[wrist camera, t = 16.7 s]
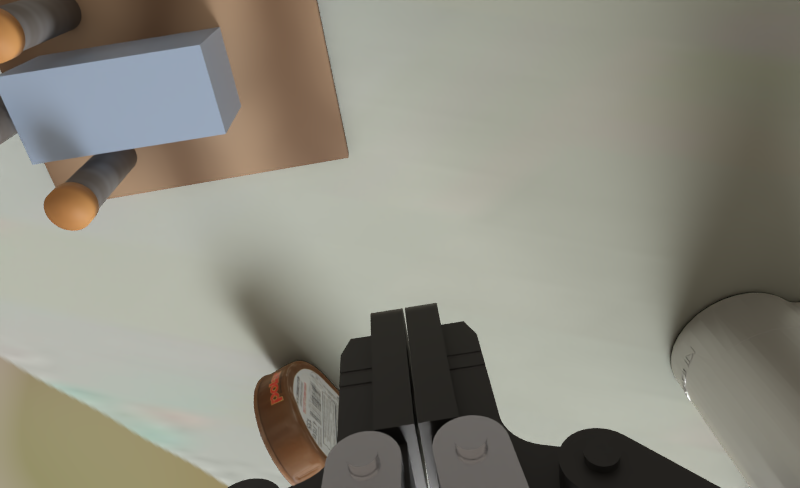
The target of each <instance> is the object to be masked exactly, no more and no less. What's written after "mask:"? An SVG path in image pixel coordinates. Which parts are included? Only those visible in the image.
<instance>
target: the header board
mask: <svg viewBox="0 0 800 488" xmlns="http://www.w3.org/2000/svg"><path fill="white" fill-rule="evenodd" d="M216 27H220V30H221V33H222V37H223V41H224V45H225V48H226V52H227V56H228V59H229V63H230V67H231V70H232V74H233V78H234V81H235V85H236V89H237V92H238V96H239V100H240V103H241V108H240V109H239V111H238V113H237V115H236V117H235V118H234V120H233V122H232V124H231V126H230V127H229V129H228V131H227V133H226V134H222V135H216V136H210V137H203V138H197V139H191V140H184V141H178V142H172V143H166V144H159V145H153V146H147V147H140V148H134V149H128V150H121V151H115V152H109V153H102V154H96V155H90V156H83V157H77V158H71V159H65V160H58V161H52V162H46V163H44V164H45V166H46V168H47V170H48V172H49V174H50V176H51V178H52V181H53V183H54V185H55V187H56V188H55V189H54V190H53V191H52V192H51V193H50V194H49V195H48V196H47V197H46V199H45V201H44V210H45V213H46V215H47V217H48V218H49V219H50V220H51V222H53V223H54V224H55V225H57V226H58V227H60V228H63V229H66V230H80V229H83V228H85V227H86V226H88V224H89V223H90V222H91V221H92V220H93V219H94V217H95V216H96V215H97V213H98V210H99V208H100V207H101V205H102V204H103V203H104V202H105V201H106V199H110V198H116V197H122V196H128V195H133V194H139V193H145V192H151V191H157V190H162V189H168V188H174V187H180V186H186V185H192V184H197V183H203V182H209V181H215V180H221V179H226V178H232V177H238V176H244V175H250V174H255V173H261V172H267V171H273V170H279V169H285V168H290V167H296V166H302V165H308V164H314V163H319V162H325V161H331V160H337V159H343V158H348V156H349V152H348V147H347V143H346V138H345V133H344V128H343V123H342V119H341V114H340V109H339V104H338V99H337V94H336V90H335V85H334V80H333V75H332V70H331V65H330V61H329V56H328V51H327V46H326V41H325V37H324V32H323V27H322V22H321V17H320V12H319V8H318V3H317V0H0V70H1V72H2V73H4V72H6V71H8V70H10V69H12V68H14V67H16V66H18V65H21V64H23V63H25V62H27V61H29V60H31V59H33V58H35V57H38V56H41V55H47V54H53V53H59V52H66V51H72V50H78V49H84V48H91V47H97V46H103V45H110V44H116V43H122V42H128V41H135V40H141V39H147V38H153V37H160V36H166V35H172V34H178V33H185V32H191V31H197V30H204V29H210V28H216ZM16 133H18V132H17V130H16V128H15V126H14V124H13V121H12V119H11V117H10V115H9V113H8V111H7V109H6V106H5V104H4V102H3V100H2V98H1V96H0V144H2V143H3V142H5V141H6V140H8V139H9V138H11V137H12V136H13V135H15V134H16Z"/></svg>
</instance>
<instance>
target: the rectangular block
mask: <svg viewBox="0 0 800 488" xmlns="http://www.w3.org/2000/svg"><path fill="white" fill-rule="evenodd" d="M0 96H1V98H2V100H3V102H4V104H5V106H6V109H7V111H8V113H9V115H10V117H11V119H12V121H13V124H14V126H15V128H16V130H17V132H18V134H19V137H20V139H21V141H22V143H23V145H24V147H25V149H26V152H27V154H28V156H29V158H30V160H31V162H32V165H33V164H39V163H46V162H52V161H58V160H65V159H71V158H77V157H83V156H90V155H96V154H102V153H109V152H115V151H121V150H128V149H134V148H140V147H147V146H153V145H159V144H166V143H172V142H178V141H184V140H191V139H197V138H203V137H210V136H216V135H222V134H226V133H227V131H228V129H229V127H230V126H231V124H232V122H233V120H234V118H235V117H236V115H237V113H238V111H239V109H240V108H241V103H240V100H239V96H238V92H237V89H236V85H235V81H234V78H233V74H232V70H231V67H230V63H229V59H228V56H227V52H226V48H225V45H224V41H223V37H222V33H221V30H220V27H216V28H210V29H204V30H197V31H191V32H185V33H178V34H172V35H166V36H160V37H153V38H147V39H141V40H135V41H128V42H122V43H116V44H110V45H103V46H97V47H91V48H84V49H78V50H72V51H66V52H59V53H53V54H47V55H41V56H38V57H35V58H33V59H31V60H29V61H27V62H25V63H23V64H21V65H18V66H16V67H14V68H12V69H10V70H8V71H6V72H4V73H2V74H0Z"/></svg>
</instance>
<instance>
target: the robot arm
mask: <svg viewBox="0 0 800 488" xmlns="http://www.w3.org/2000/svg"><path fill="white" fill-rule="evenodd" d="M405 313H406V322H407V330H408V335H407V330H406V324H405V318H404V313H403V309H396V310H389V311H383V312H377V313H371V336H368V337H362V338H355V339H351V340H350V341H349V343H348V345H347V346H346V348H345V350H344V351H343V353H342V354H341V363H340V386H339V387H340V390H339V408H338V431H337V444H336V445H335V446H334V447H333V448H332V450H331V451H330V452H329V454H328V456H327V458H326V462H325V466H324V468H323V469H321V470H320V471H319V472H318V473H317V474H315V475H314V476H312V477H310V478H309V479H307V480H305V481H303V482H300V483H298V484H296V485H293V486H291V487H289V488H428V483H427V474H428V480H429V485H430V488H720V487H718V486H717V485H715V484H713V483H711V482H709V481H707V480H706V479H704V478H702V477H700V476H698V475H696V474H695V473H693V472H691V471H689V470H687V469H685V468H684V467H682V466H680V465H678V464H676V463H674V462H672V461H671V460H669V459H667V458H665V457H663V456H661V455H660V454H658V453H656V452H654V451H652V450H650V449H649V448H647V447H645V446H643V445H641V444H639V443H638V442H636V441H634V440H632V439H630V438H628V437H627V436H625V435H623V434H620V433H618V432H615V431H612V430H608V429H601V428H591V429H585V430H581V431H578V432H576V433H574V434H572V435H570V436H569V437H568V438H567V439H566V440H565V441H564V442H563V443H562V445H561V447H557V446H548V445H540V444H535V443H531V442H527V441H525V440H523V439H520V438H518V437H517V436H515V435H513V434H512V433H511V432H510V431H509V430H508V429H507V428H506V427H505V426H504V424H503V423H502V421H501V419H500V416H499V413H498V409H497V406H496V402H495V398H494V395H493V391H492V388H491V384H490V380H489V377H488V373H487V370H486V367H485V362H484V359H483V355H482V352H481V348H480V344H479V341H478V337H477V334H476V333H475V332H474V331H473V330H472V329H471V328H470V327H469V326H468V325H467V324H466V323H465V322H464V321H463V322H456V323H450V324H444V325H441V323H440V318H439V313H438V308H437V303H433V304H427V305H420V306H414V307H408V308H405ZM408 339H409V341H408ZM671 368H672V371H673V374H674V376H675V378H676V380H677V381H678V383H679V384H680V385H681V387H682V388H683V390H684V392H685V394H686V396H687V397H688V398H689V400H691V402H692V403H693V404H694V406H695V407H696V409H697V410H698V412H699V413H700V415H701V416H702V418H703V419H704V421H705V422H706V424H707V425H708V427H709V428H710V429H711V431H712V432H713V434H714V435H715V437H716V438H717V440H718V441H719V442H720V444H721V445H722V447H723V448H724V450H725V451H726V453H727V454H728V455H729V457H730V458H731V460H732V461H733V463H734V464H735V466H736V467H737V469H738V470H739V471H740V473H741V474H742V476H743V477H744V479H745V480H746V482H747V483H748V484H749V486H750V487H751V488H800V302H795V303H791V302H789V301H786V300H784V299H782V298H780V297H778V296H776V295H771V294H767V293H746V294H740V295H735V296H732V297H729V298H726V299H723V300H721V301H719V302H717V303H715V304H713V305H711V306H709V307H708V308H706V309H705V310H703V311H702V312H700V313H699V314H698V315H696V316H695V317H694V318H693V319H692V320H691V321H690V322H689V323H688V324H687V325H686V326H685V328H684V329H683V330H682V332H681V333H680V335H679V336H678V338H677V340H676V342H675V344H674V347H673V351H672V355H671ZM425 464H426V466H425ZM426 469H427V474H426ZM228 488H279V487H278V486H277V485H276V484H274V483H273V482H271V481H269V480H265V479H248V480H244V481H240V482H238V483H235V484H233V485H231V486H230V487H228Z"/></svg>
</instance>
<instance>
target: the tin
mask: <svg viewBox="0 0 800 488" xmlns="http://www.w3.org/2000/svg"><path fill="white" fill-rule="evenodd" d="M338 408H339V391H338V390H337V389H336V388H335V387H334V385H333V384H332V383H331V382H330V381H329V380H328V379H327V378H326V377H325V376H324V375H323V374H322V373H321V372H320V371H319V370H318V369H317V368H316V367H314V366H313V365H311V364H309V363H307V362H304V361H295V362H292V363H290V364H288V365H286V366H284V367H282V368H280V369H279V370H277V371H275V372H274V373H272V374H270V375H266V376H264V377H262V378H261V379H260V380H259V381H258V383H257V385H256V388H255V391H254V411H255V415H256V420H257V424H258V428H259V431H260V435H261V437H262V440H263V442H264V444H265V446H266V449H267V450H268V452H269V454H270V456H271V458H272V460H273V461H274V463H275V465H276V466H277V468H278V469H279V471H280V472H281V473H282V475H283V476H284V477H285V478H286V479H287V481H288V482H289V483H290V484H291V485H292V486H293V485H296V484H298V483H300V482H303V481H305V480H307V479H309V478H310V477H312V476H314V475H315V474H317V473H318V472H319V471H320V470H321V469H323V468H324V466H325V462H326V458H327V456H328V454H329V452H330V451H331V450H332V448H333V447H334V446H335V445H336V444H337V431H338Z"/></svg>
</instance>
